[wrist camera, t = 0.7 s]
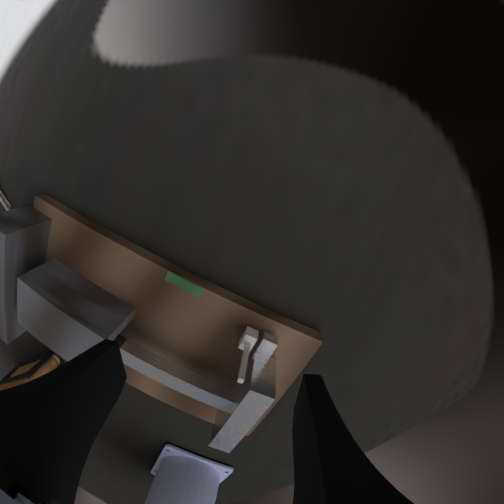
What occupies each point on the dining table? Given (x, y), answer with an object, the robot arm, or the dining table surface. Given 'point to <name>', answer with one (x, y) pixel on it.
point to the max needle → (246, 350)
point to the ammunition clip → (31, 369)
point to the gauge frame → (130, 304)
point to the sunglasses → (4, 202)
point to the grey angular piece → (217, 388)
